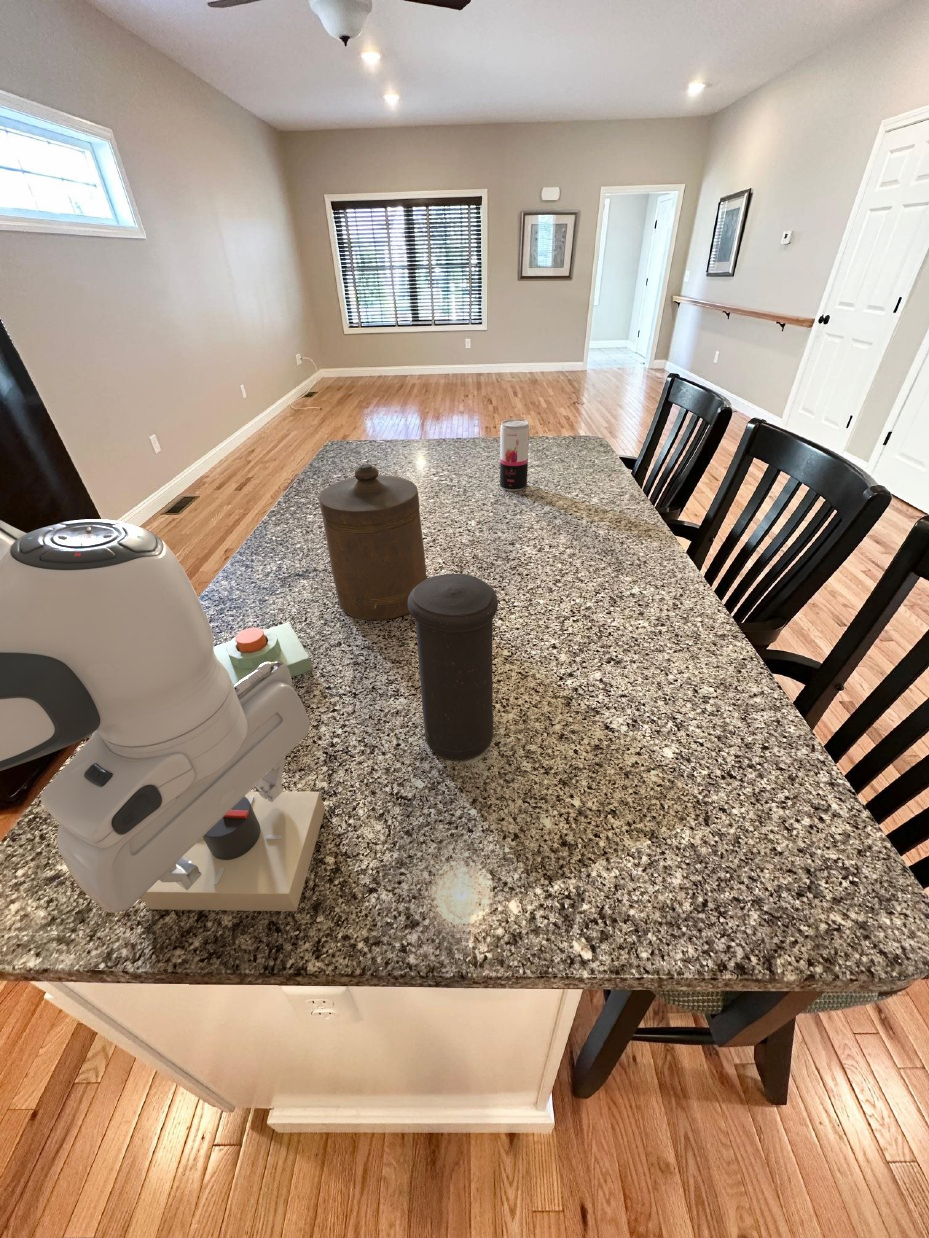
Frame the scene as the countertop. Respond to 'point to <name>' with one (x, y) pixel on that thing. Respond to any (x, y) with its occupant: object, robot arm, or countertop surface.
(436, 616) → the container
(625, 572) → the countertop surface
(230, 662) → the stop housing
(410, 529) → the wooden container
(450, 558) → the countertop surface
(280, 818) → the panel
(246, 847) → the timer knob
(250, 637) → the stop button
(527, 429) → the beverage can
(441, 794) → the countertop surface
